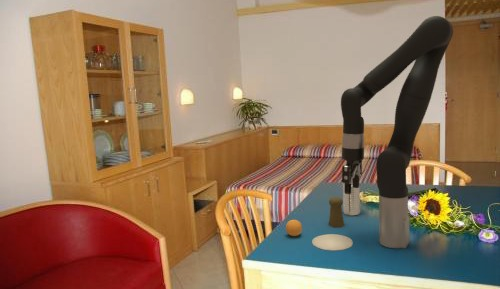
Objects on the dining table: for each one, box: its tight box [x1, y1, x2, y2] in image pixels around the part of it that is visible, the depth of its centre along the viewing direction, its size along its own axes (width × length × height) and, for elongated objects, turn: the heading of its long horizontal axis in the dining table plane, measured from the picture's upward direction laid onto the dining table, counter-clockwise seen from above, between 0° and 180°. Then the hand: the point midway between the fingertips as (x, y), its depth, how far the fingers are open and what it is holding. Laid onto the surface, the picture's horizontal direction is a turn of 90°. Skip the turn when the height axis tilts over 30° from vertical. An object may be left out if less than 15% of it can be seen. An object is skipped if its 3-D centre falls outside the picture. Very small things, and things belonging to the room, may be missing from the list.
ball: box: [285, 219, 303, 237], centre depth 149 cm, size 6×6×6 cm
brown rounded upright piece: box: [328, 196, 345, 228], centre depth 158 cm, size 6×6×11 cm
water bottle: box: [342, 160, 361, 217], centre depth 168 cm, size 7×7×25 cm
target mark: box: [311, 233, 354, 252], centre depth 142 cm, size 14×14×1 cm
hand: (351, 190), depth 143 cm, fingers open, 8 cm apart
